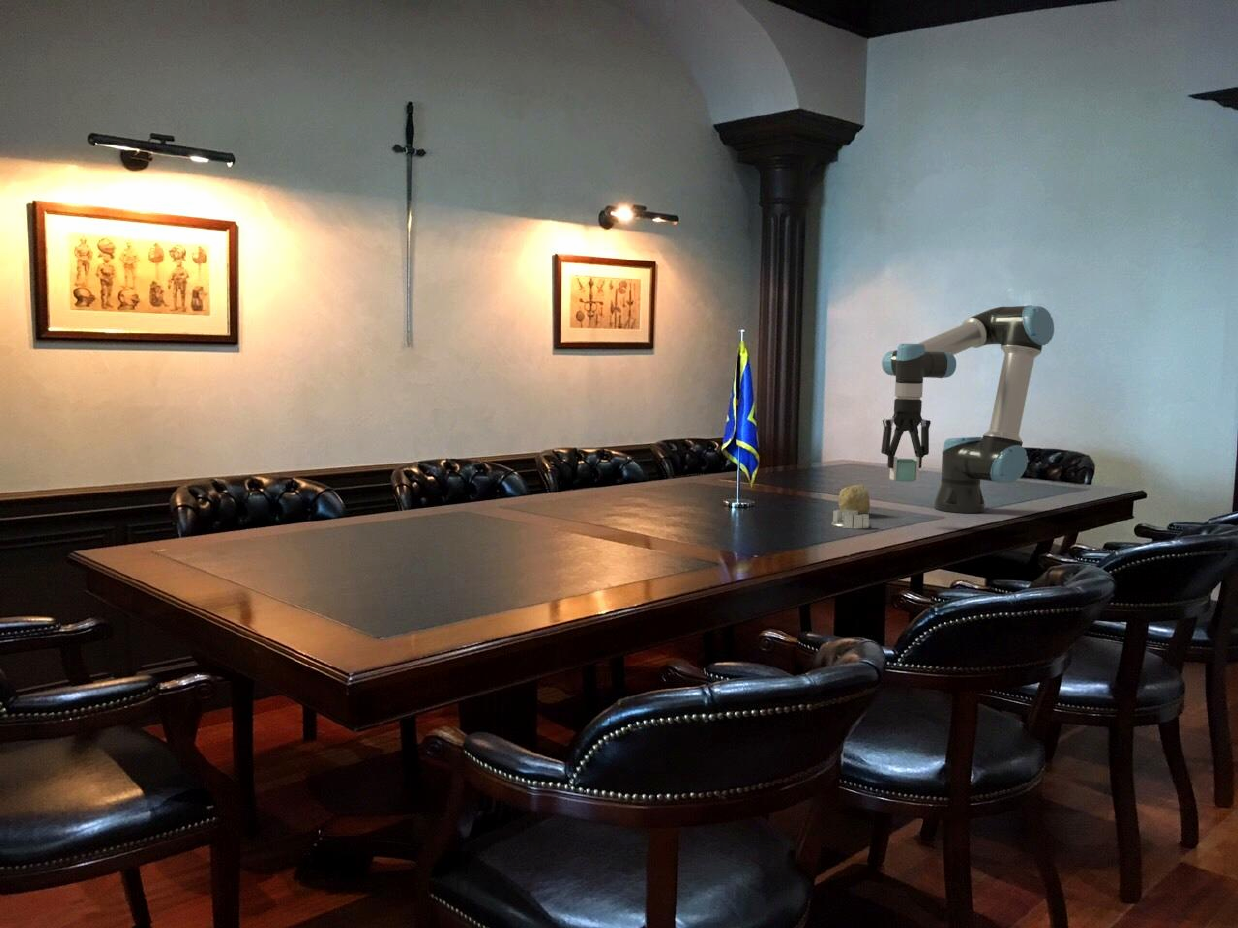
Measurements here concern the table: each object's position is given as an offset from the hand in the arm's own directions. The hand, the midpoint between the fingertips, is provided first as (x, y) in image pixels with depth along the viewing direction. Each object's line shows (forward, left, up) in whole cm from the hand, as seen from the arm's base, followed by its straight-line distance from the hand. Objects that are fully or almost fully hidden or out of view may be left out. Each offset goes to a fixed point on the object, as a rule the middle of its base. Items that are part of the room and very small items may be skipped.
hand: (903, 479), depth 295 cm
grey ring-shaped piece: (+15, 0, -13) cm, 20 cm away
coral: (+7, -18, -13) cm, 24 cm away
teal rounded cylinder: (0, 0, 0) cm, 0 cm away
